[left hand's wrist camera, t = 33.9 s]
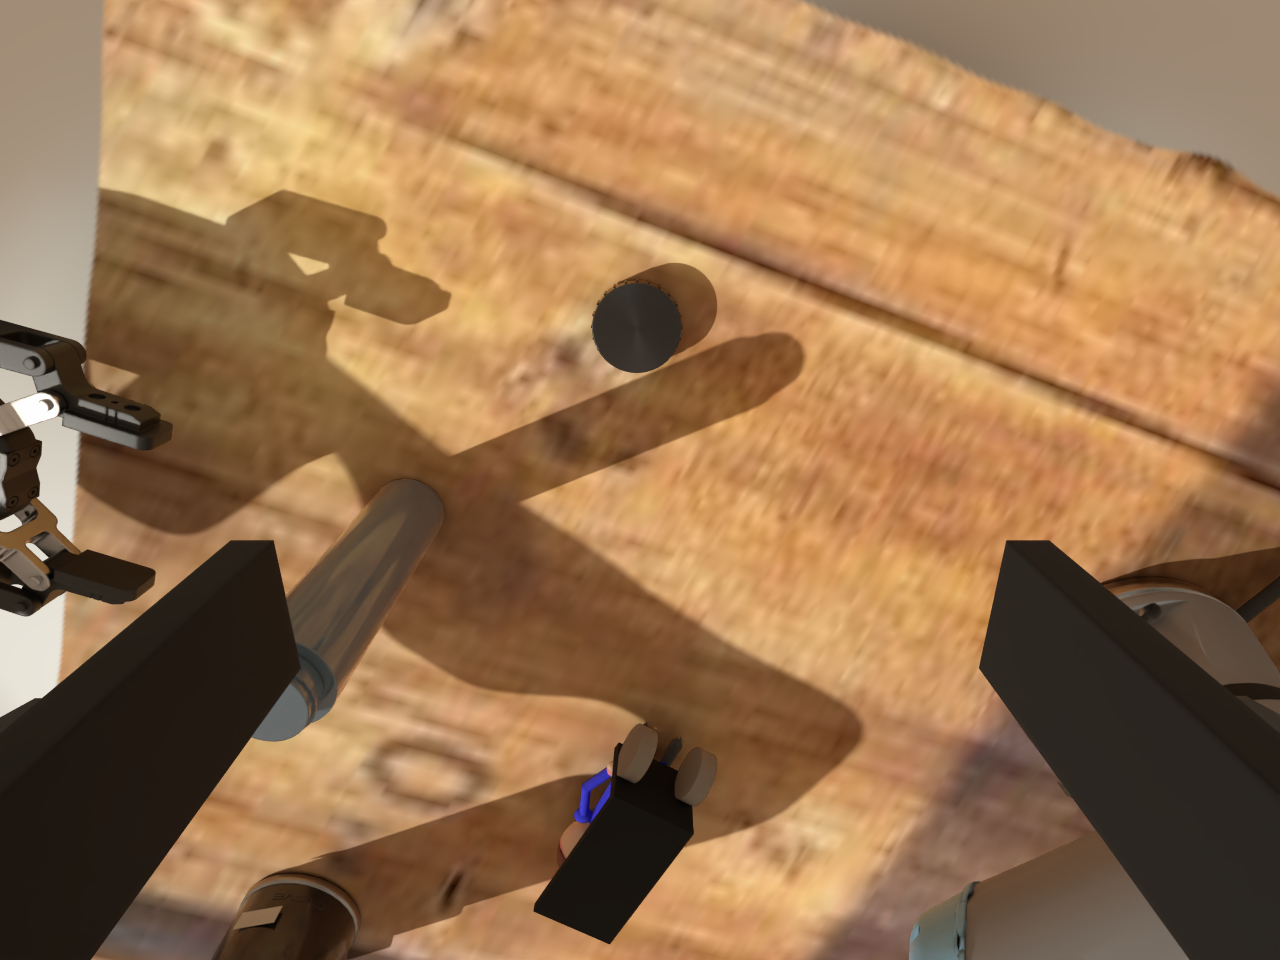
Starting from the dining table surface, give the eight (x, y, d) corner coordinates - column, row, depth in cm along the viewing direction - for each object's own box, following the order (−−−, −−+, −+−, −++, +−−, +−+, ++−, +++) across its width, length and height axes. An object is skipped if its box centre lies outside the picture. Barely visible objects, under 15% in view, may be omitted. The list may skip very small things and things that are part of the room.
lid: (578, 298, 39) (576, 303, 38) (662, 264, 39) (663, 266, 37) (613, 379, 41) (612, 387, 40) (693, 348, 41) (695, 354, 39)
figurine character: (630, 682, 51) (537, 836, 54) (636, 750, 43) (528, 923, 47) (710, 718, 52) (615, 867, 55) (729, 789, 45) (617, 956, 48)
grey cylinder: (433, 473, 43) (297, 652, 26) (452, 535, 45) (337, 743, 28) (365, 484, 44) (187, 670, 27) (387, 547, 45) (233, 759, 28)
